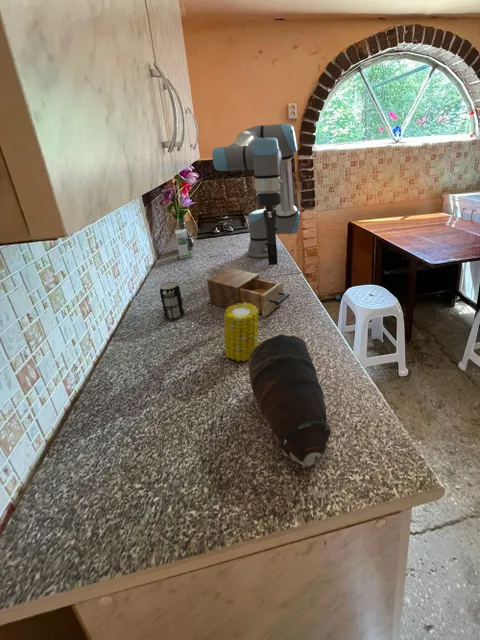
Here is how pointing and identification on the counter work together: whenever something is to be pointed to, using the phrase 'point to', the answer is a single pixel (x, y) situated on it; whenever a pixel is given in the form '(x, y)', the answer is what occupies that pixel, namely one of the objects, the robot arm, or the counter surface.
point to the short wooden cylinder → (260, 292)
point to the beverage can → (171, 300)
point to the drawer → (263, 295)
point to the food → (241, 331)
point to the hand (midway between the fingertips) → (272, 256)
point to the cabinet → (228, 286)
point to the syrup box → (183, 243)
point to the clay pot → (290, 396)
